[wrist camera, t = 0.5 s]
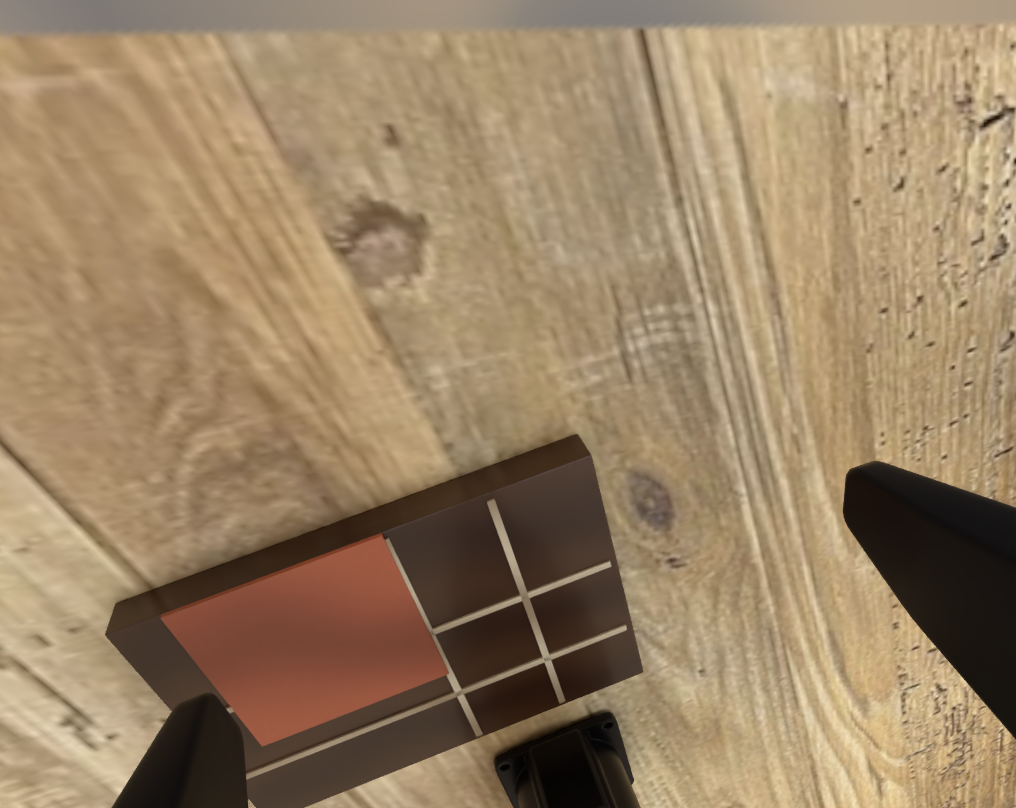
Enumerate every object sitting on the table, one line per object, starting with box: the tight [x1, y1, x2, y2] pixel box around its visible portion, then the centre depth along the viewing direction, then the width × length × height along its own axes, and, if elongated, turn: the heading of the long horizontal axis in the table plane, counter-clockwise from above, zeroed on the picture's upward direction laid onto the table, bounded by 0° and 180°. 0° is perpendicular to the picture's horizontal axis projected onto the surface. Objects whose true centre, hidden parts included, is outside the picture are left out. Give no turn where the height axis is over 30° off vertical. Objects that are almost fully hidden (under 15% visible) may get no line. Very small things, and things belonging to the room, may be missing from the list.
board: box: [105, 435, 643, 808], centre depth 28 cm, size 13×18×2 cm
